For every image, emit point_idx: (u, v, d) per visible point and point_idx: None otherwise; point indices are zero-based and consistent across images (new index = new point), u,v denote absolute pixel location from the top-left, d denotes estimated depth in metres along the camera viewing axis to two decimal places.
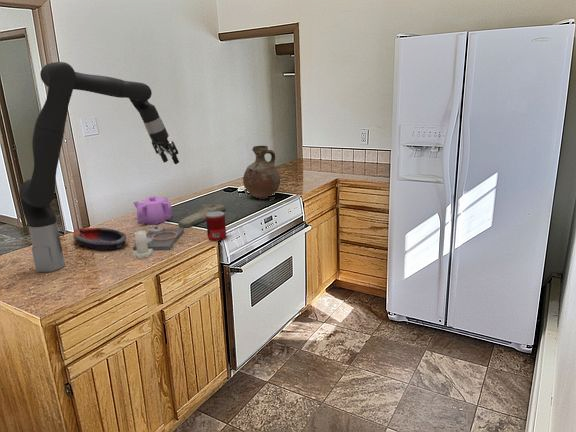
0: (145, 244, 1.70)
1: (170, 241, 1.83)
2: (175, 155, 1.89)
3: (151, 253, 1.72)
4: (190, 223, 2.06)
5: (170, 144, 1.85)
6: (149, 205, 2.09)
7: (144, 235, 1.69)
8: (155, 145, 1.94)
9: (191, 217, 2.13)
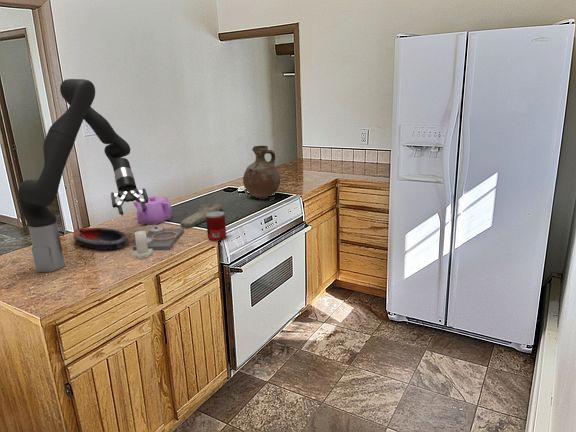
0: (145, 244, 1.70)
1: (170, 241, 1.83)
2: (144, 203, 1.82)
3: (151, 253, 1.72)
4: (193, 223, 2.06)
5: None
6: (149, 205, 2.09)
7: (144, 235, 1.69)
8: (114, 196, 1.79)
9: (192, 217, 2.13)
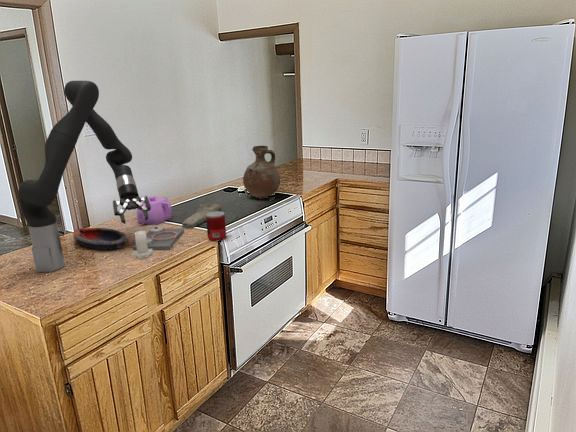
0: (145, 244, 1.70)
1: (170, 241, 1.83)
2: (147, 210, 1.80)
3: (151, 253, 1.72)
4: (195, 223, 2.06)
5: None
6: None
7: (144, 235, 1.69)
8: None
9: (193, 217, 2.12)
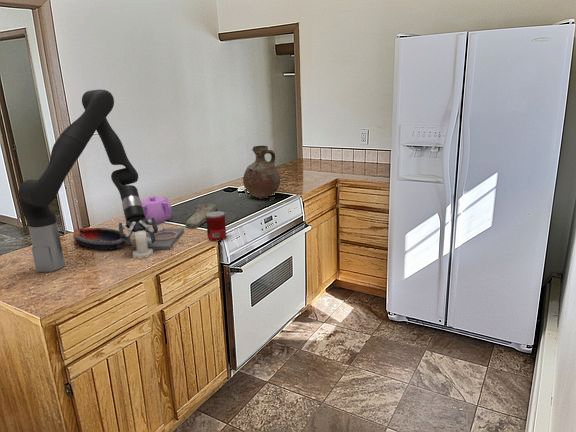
0: (145, 244, 1.70)
1: (170, 241, 1.83)
2: None
3: (151, 253, 1.72)
4: (199, 223, 2.06)
5: None
6: (149, 205, 2.09)
7: (144, 235, 1.69)
8: (122, 227, 1.71)
9: (195, 217, 2.12)
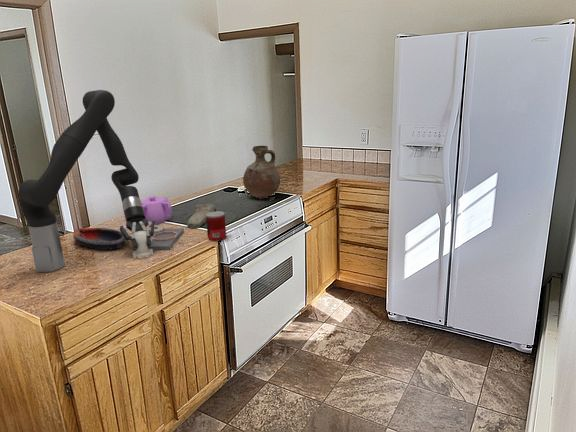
0: (145, 244, 1.70)
1: (170, 241, 1.83)
2: (150, 236, 1.73)
3: (151, 253, 1.72)
4: (200, 223, 2.06)
5: (154, 223, 1.76)
6: (149, 205, 2.09)
7: (144, 235, 1.69)
8: (124, 229, 1.70)
9: (195, 217, 2.12)
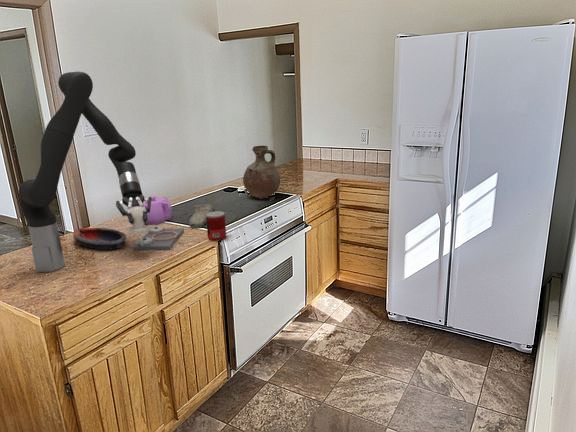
0: (141, 220, 1.67)
1: (170, 241, 1.83)
2: (146, 212, 1.70)
3: (147, 229, 1.69)
4: (202, 223, 2.06)
5: None
6: None
7: (140, 210, 1.66)
8: (121, 204, 1.68)
9: (196, 217, 2.12)
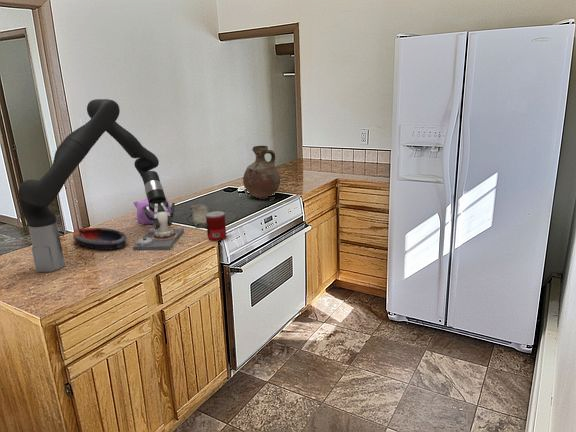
0: (166, 223, 1.86)
1: (170, 241, 1.83)
2: (170, 217, 1.88)
3: (172, 232, 1.87)
4: None
5: (174, 205, 1.91)
6: None
7: (165, 215, 1.85)
8: (147, 210, 1.86)
9: (199, 217, 2.12)
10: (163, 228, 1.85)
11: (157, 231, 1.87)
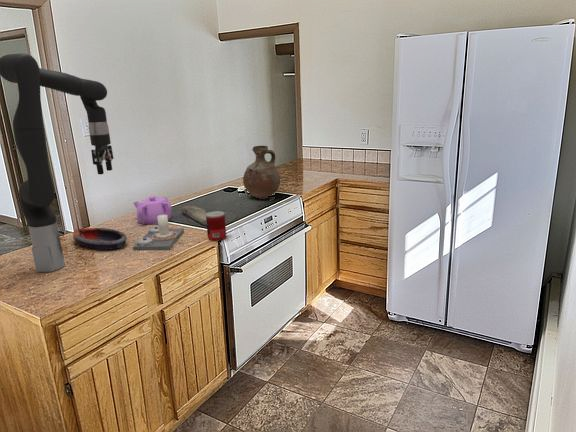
0: (167, 227, 1.86)
1: (170, 241, 1.83)
2: None
3: (172, 235, 1.88)
4: None
5: None
6: (149, 205, 2.09)
7: (166, 218, 1.85)
8: None
9: (203, 217, 2.12)
10: (163, 231, 1.86)
11: (157, 234, 1.87)
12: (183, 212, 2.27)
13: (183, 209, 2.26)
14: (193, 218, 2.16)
